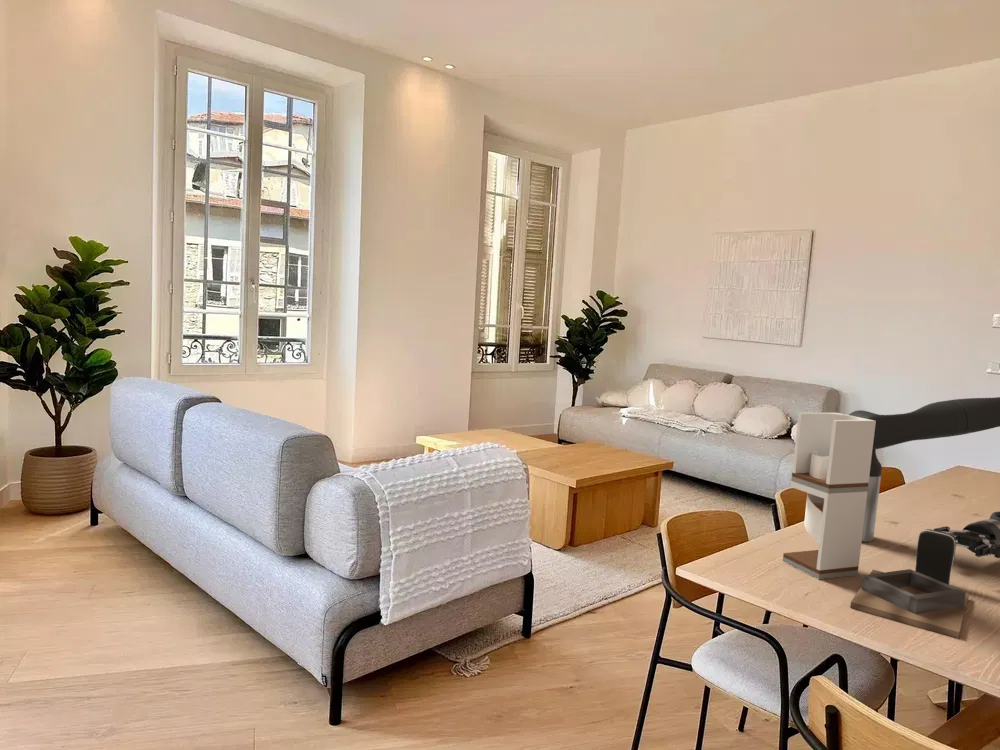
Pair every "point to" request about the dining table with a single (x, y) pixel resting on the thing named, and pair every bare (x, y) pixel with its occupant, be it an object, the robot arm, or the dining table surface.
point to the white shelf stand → (832, 490)
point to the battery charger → (935, 554)
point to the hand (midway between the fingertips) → (956, 546)
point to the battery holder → (913, 600)
